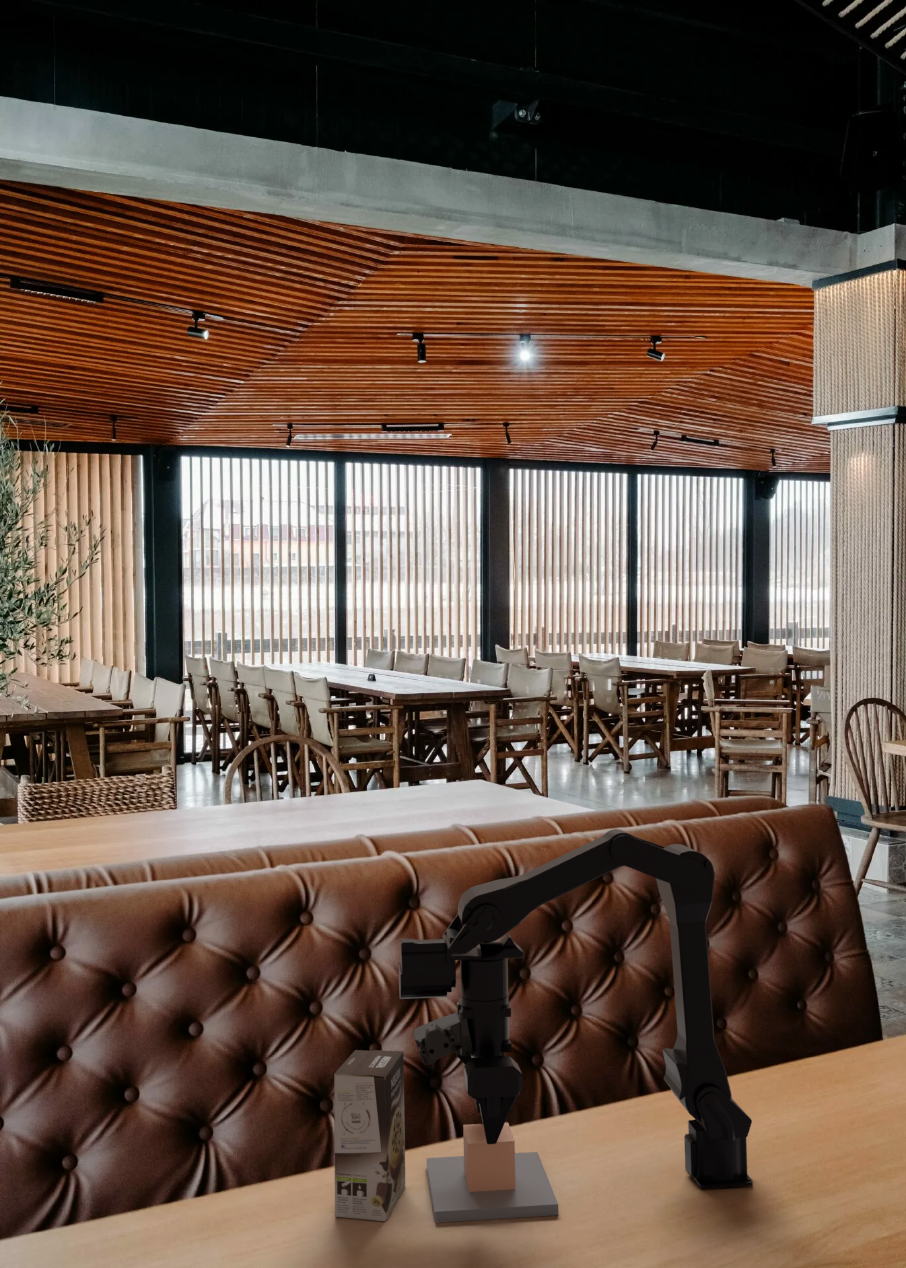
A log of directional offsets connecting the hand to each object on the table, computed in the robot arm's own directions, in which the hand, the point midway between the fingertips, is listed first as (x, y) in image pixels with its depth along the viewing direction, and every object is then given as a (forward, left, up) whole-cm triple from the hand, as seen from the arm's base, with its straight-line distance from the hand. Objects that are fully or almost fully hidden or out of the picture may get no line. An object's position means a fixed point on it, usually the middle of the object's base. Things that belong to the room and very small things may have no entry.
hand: (486, 1127), depth 130 cm
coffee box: (+14, +1, -8) cm, 16 cm away
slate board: (0, 0, -7) cm, 7 cm away
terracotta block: (0, 0, -6) cm, 6 cm away
